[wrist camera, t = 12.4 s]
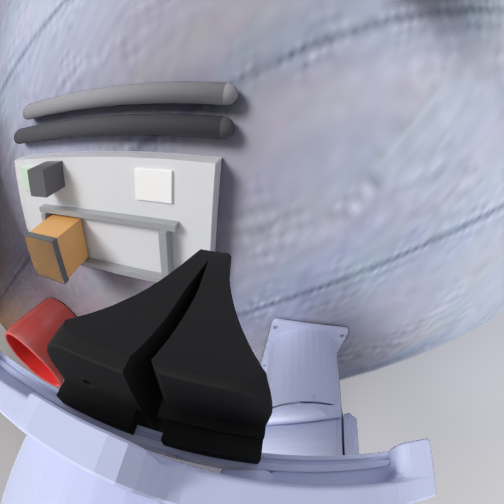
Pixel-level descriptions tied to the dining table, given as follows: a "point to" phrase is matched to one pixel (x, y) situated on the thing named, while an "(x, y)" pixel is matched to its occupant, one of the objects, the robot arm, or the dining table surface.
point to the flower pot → (39, 338)
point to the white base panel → (127, 205)
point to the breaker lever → (57, 247)
